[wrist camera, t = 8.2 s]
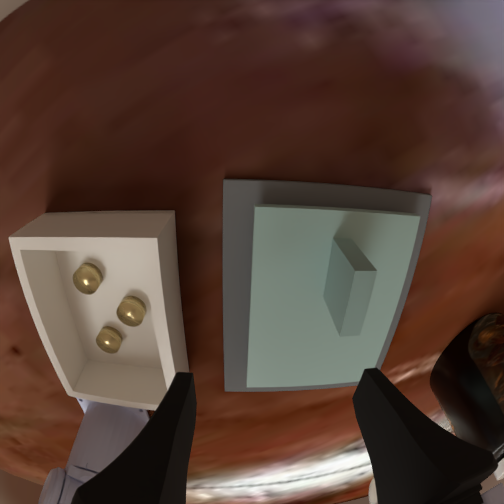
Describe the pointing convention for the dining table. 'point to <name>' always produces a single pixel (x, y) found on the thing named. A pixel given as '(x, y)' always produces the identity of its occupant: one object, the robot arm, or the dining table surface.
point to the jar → (475, 385)
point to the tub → (106, 301)
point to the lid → (323, 291)
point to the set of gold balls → (127, 311)
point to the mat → (240, 254)
